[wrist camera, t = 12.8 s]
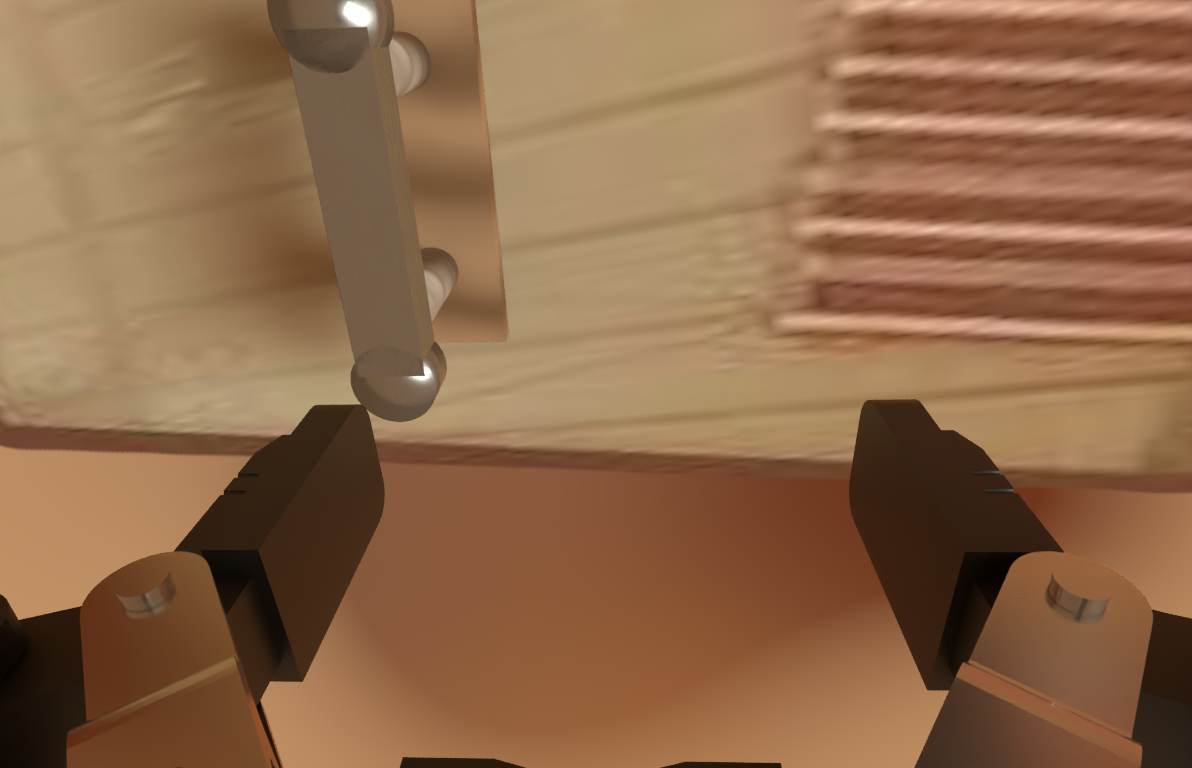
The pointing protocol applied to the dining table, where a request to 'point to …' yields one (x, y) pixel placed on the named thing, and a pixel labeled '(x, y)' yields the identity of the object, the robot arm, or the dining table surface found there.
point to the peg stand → (450, 166)
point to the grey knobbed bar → (365, 196)
